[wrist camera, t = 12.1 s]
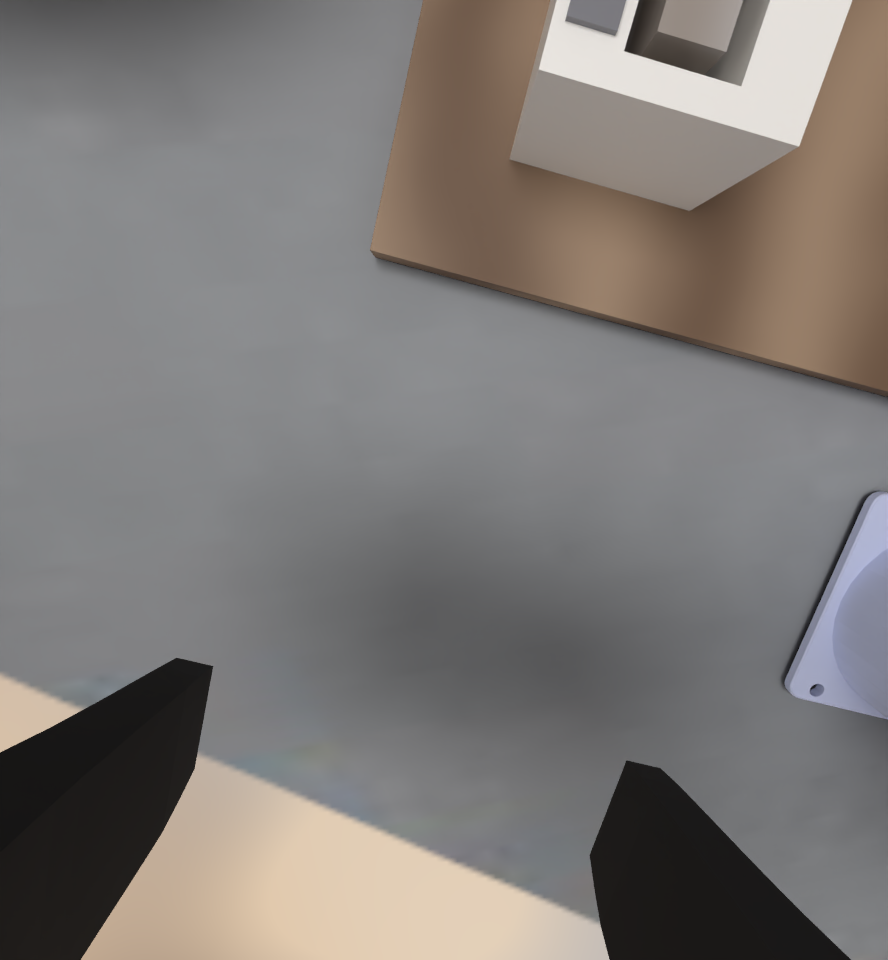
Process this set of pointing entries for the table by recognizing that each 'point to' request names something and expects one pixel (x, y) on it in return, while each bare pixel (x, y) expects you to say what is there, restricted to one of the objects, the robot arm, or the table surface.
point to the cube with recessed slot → (673, 99)
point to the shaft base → (646, 223)
